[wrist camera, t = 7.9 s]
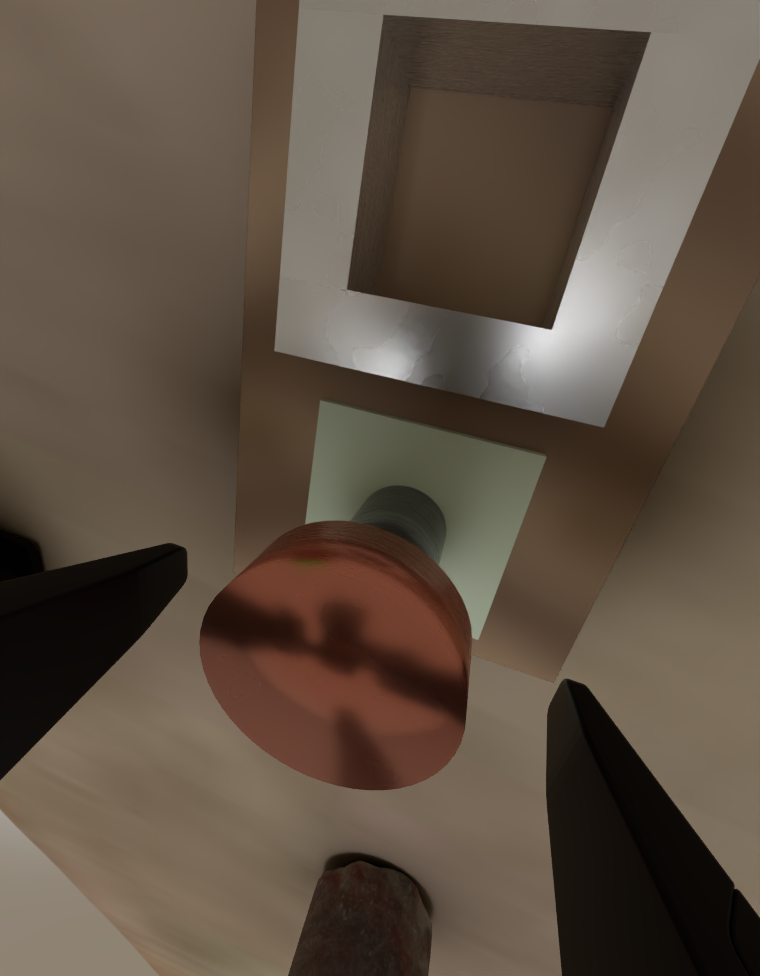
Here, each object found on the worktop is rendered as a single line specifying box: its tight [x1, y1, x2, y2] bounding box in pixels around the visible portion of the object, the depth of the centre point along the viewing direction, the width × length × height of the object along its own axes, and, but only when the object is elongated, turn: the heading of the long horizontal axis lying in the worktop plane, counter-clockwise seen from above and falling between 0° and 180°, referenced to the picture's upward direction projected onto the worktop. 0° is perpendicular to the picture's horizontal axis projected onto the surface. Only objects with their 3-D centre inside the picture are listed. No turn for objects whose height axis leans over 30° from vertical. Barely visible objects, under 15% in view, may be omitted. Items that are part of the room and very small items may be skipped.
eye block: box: [274, 0, 760, 427], centre depth 9 cm, size 8×8×2 cm
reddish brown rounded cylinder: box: [200, 485, 472, 790], centre depth 11 cm, size 5×5×7 cm
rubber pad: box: [305, 399, 546, 640], centre depth 14 cm, size 7×7×1 cm
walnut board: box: [233, 0, 760, 683], centre depth 13 cm, size 18×13×2 cm
